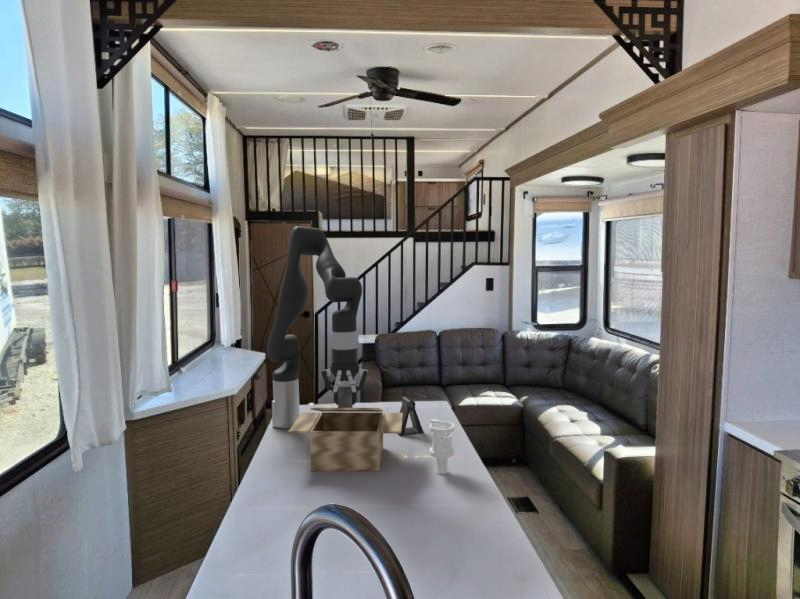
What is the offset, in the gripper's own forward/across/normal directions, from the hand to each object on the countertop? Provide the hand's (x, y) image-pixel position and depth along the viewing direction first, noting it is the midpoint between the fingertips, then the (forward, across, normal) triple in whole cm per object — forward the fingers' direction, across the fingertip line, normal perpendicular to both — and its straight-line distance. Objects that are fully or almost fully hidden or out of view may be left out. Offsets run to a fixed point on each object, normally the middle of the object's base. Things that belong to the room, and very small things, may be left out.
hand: (345, 403), depth 150 cm
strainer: (+19, -28, +3) cm, 34 cm away
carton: (+19, 0, -6) cm, 20 cm away
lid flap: (+4, 0, -6) cm, 7 cm away
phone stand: (+19, -18, -30) cm, 40 cm away
